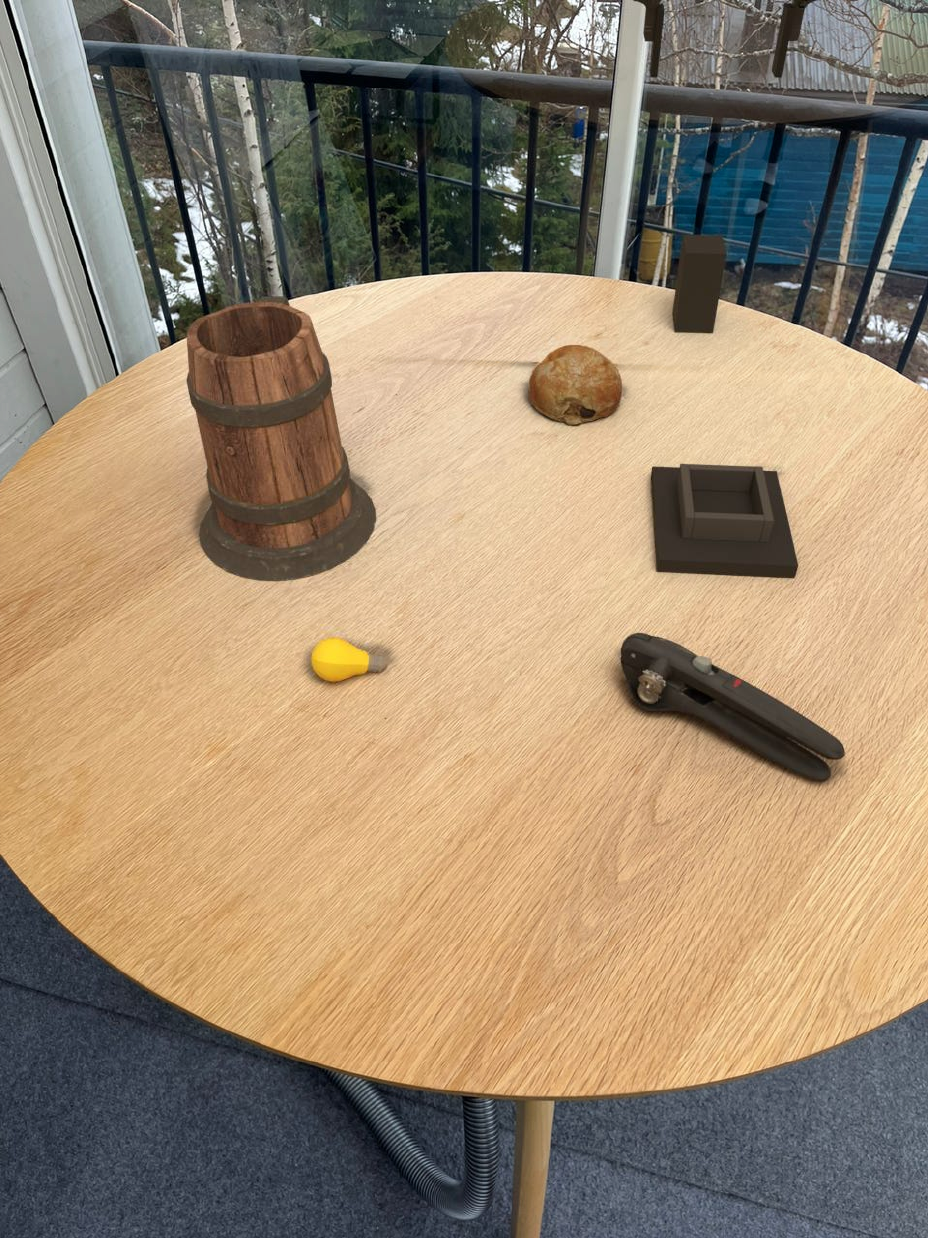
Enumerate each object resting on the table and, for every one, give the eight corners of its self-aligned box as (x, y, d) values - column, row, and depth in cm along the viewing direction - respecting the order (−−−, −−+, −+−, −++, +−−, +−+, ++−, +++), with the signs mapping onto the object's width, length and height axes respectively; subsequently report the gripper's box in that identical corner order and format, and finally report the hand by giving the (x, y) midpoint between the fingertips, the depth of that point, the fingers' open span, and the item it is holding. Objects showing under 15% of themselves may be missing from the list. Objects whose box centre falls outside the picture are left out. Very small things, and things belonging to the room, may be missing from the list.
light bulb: (307, 666, 76) (313, 627, 75) (380, 673, 78) (387, 635, 76) (309, 687, 73) (315, 647, 72) (384, 694, 75) (392, 655, 73)
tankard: (370, 578, 84) (344, 378, 70) (182, 583, 84) (119, 384, 70) (384, 431, 101) (366, 246, 87) (227, 435, 101) (183, 252, 87)
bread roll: (535, 450, 104) (546, 409, 96) (515, 372, 107) (524, 327, 99) (621, 437, 105) (638, 396, 97) (599, 361, 108) (613, 315, 101)
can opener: (596, 695, 73) (602, 645, 70) (644, 644, 77) (652, 595, 73) (809, 817, 65) (829, 768, 61) (851, 754, 69) (873, 704, 65)
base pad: (773, 483, 92) (782, 448, 90) (795, 578, 82) (805, 543, 80) (650, 478, 93) (655, 444, 91) (656, 572, 83) (662, 537, 81)
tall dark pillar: (707, 324, 116) (722, 234, 108) (711, 344, 112) (726, 253, 104) (670, 323, 116) (682, 234, 108) (672, 343, 112) (685, 252, 105)
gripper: (621, -166, 89) (603, 83, 104) (893, -172, 87) (834, 83, 102) (619, -174, 94) (602, 64, 109) (875, -180, 92) (822, 64, 107)
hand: (714, 74), depth 106 cm, fingers open, 13 cm apart
